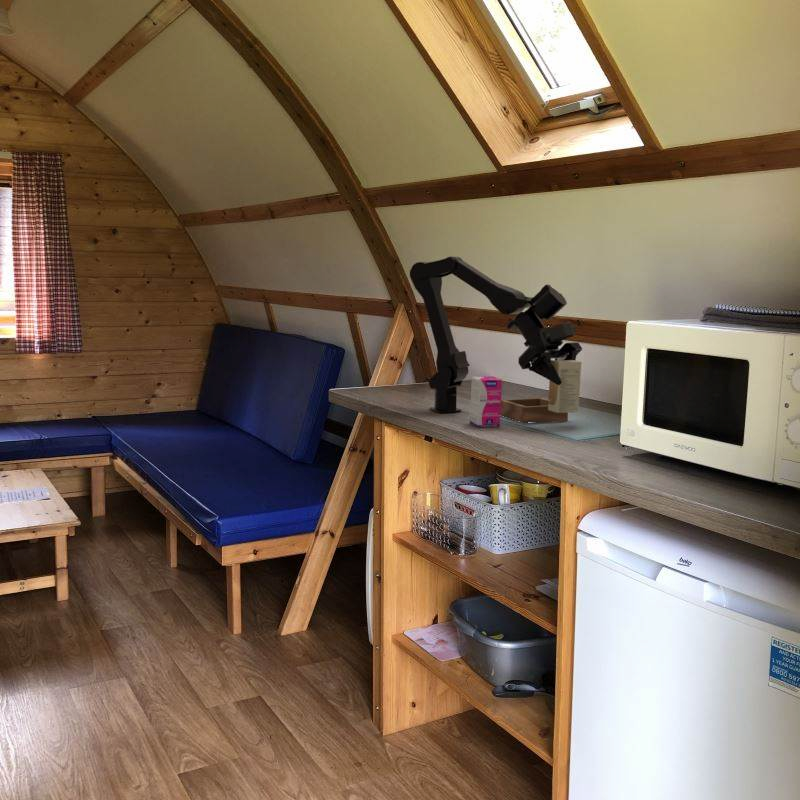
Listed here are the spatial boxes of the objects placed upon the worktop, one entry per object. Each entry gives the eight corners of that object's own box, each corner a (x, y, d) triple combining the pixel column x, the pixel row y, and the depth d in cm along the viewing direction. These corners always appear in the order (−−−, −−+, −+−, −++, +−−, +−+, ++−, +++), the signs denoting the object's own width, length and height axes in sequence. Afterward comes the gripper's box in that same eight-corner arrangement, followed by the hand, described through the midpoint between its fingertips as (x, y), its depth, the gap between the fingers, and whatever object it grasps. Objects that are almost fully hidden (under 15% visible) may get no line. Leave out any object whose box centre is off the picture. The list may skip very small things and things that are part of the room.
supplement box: (477, 427, 209) (479, 379, 207) (469, 423, 214) (470, 376, 213) (500, 426, 210) (502, 379, 208) (491, 422, 216) (493, 375, 214)
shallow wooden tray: (498, 415, 226) (499, 400, 225) (540, 412, 231) (540, 397, 230) (524, 423, 214) (525, 407, 214) (567, 420, 219) (568, 404, 219)
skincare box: (569, 410, 215) (573, 359, 213) (579, 412, 210) (583, 361, 209) (546, 410, 212) (549, 359, 211) (555, 412, 208) (559, 361, 207)
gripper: (530, 311, 204) (567, 363, 198) (577, 309, 217) (614, 358, 211) (502, 342, 211) (537, 394, 205) (550, 338, 224) (584, 387, 218)
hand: (569, 382), depth 209 cm, fingers closed on skincare box, 7 cm apart
